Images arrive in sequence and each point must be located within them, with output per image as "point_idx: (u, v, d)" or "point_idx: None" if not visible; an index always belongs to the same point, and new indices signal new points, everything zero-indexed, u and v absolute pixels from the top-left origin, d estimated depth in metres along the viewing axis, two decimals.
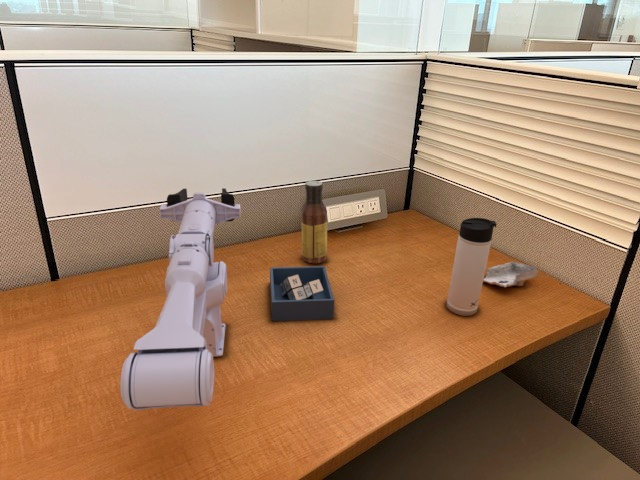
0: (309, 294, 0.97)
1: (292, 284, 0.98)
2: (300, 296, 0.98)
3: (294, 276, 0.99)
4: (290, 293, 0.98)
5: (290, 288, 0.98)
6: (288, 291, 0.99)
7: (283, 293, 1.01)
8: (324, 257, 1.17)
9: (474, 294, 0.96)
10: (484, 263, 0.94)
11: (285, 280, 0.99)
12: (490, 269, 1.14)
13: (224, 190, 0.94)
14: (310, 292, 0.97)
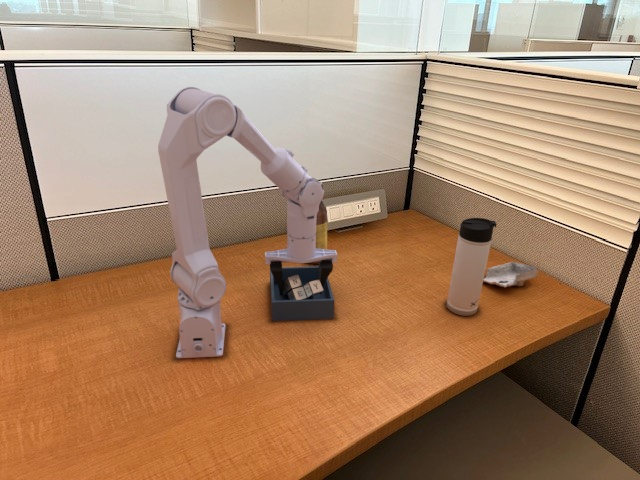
0: (309, 294, 0.97)
1: (292, 284, 0.98)
2: (300, 296, 0.98)
3: (294, 276, 0.99)
4: (290, 293, 0.98)
5: (290, 288, 0.98)
6: (288, 291, 0.99)
7: (283, 293, 1.01)
8: None
9: (474, 294, 0.96)
10: (484, 263, 0.94)
11: (285, 280, 0.99)
12: (490, 269, 1.14)
13: None
14: (310, 292, 0.97)
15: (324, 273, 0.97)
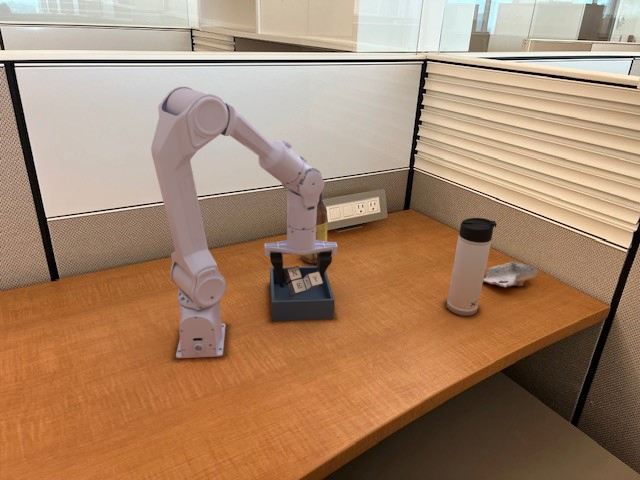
0: (308, 286, 0.96)
1: (291, 276, 0.97)
2: (300, 288, 0.97)
3: (294, 268, 0.98)
4: (289, 285, 0.97)
5: (289, 280, 0.97)
6: (288, 283, 0.98)
7: (283, 285, 1.00)
8: None
9: (474, 294, 0.96)
10: (484, 263, 0.94)
11: (285, 272, 0.98)
12: (490, 269, 1.14)
13: None
14: (309, 284, 0.96)
15: (323, 265, 0.96)
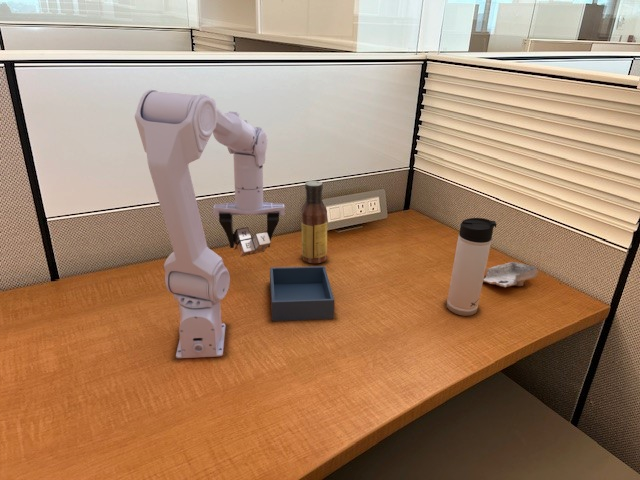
0: (256, 246, 1.00)
1: (240, 236, 1.01)
2: (248, 248, 1.00)
3: (244, 229, 1.01)
4: (239, 245, 1.01)
5: (239, 240, 1.01)
6: (238, 243, 1.01)
7: (234, 246, 1.04)
8: (324, 257, 1.17)
9: (474, 294, 0.96)
10: (484, 263, 0.94)
11: (235, 232, 1.02)
12: (490, 269, 1.14)
13: None
14: (257, 243, 0.99)
15: (270, 225, 0.99)
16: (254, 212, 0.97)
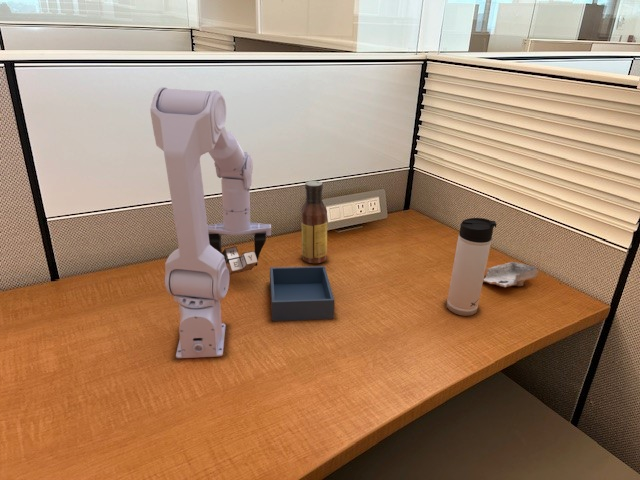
0: (244, 265, 1.04)
1: (229, 255, 1.04)
2: (236, 266, 1.04)
3: (232, 248, 1.05)
4: (227, 264, 1.05)
5: (227, 259, 1.04)
6: (226, 262, 1.05)
7: None
8: (324, 257, 1.17)
9: (474, 294, 0.96)
10: (484, 263, 0.94)
11: (223, 252, 1.06)
12: (490, 269, 1.14)
13: None
14: (244, 263, 1.03)
15: (257, 245, 1.03)
16: (241, 233, 1.01)
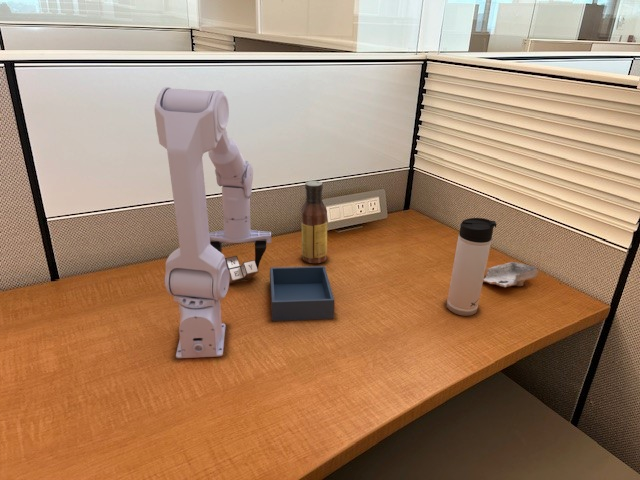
0: (244, 274, 1.04)
1: (229, 264, 1.05)
2: (237, 276, 1.05)
3: (232, 257, 1.06)
4: None
5: (228, 268, 1.05)
6: None
7: None
8: (324, 257, 1.17)
9: (474, 294, 0.96)
10: (484, 263, 0.94)
11: None
12: (490, 269, 1.14)
13: None
14: (245, 272, 1.04)
15: (258, 253, 1.04)
16: (242, 241, 1.02)
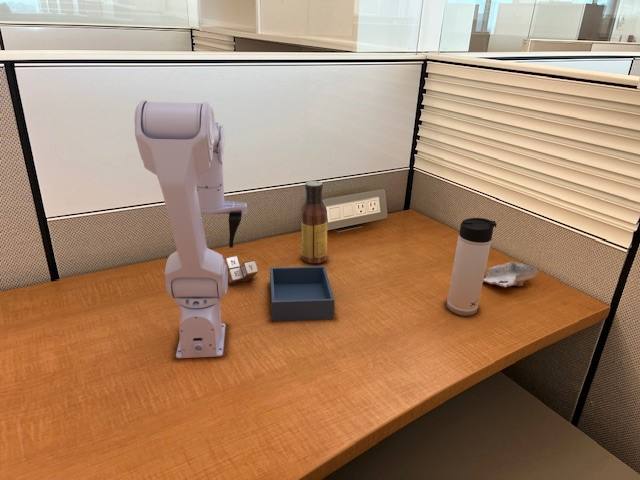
0: (244, 274, 1.04)
1: (229, 264, 1.05)
2: (237, 276, 1.05)
3: (233, 257, 1.06)
4: (228, 273, 1.06)
5: (228, 268, 1.05)
6: None
7: None
8: (324, 257, 1.17)
9: (474, 294, 0.96)
10: (484, 263, 0.94)
11: (225, 261, 1.07)
12: (490, 269, 1.14)
13: None
14: (245, 272, 1.04)
15: (232, 225, 0.96)
16: (214, 211, 0.94)
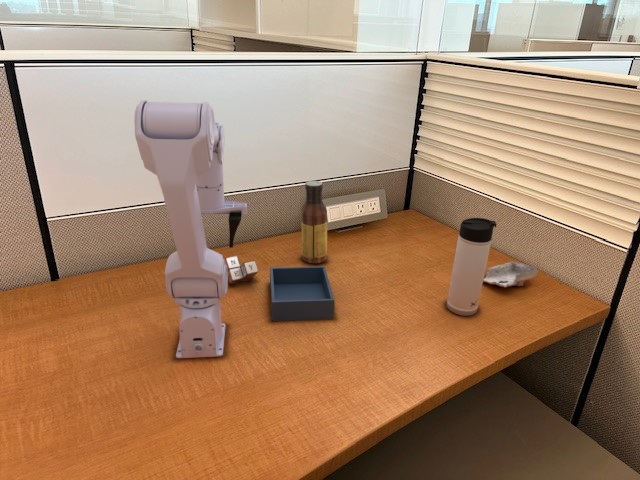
0: (244, 274, 1.04)
1: (229, 264, 1.05)
2: (237, 276, 1.05)
3: (233, 257, 1.06)
4: (228, 273, 1.06)
5: (228, 268, 1.05)
6: None
7: None
8: (324, 257, 1.17)
9: (474, 294, 0.96)
10: (484, 263, 0.94)
11: None
12: (490, 269, 1.14)
13: None
14: (245, 272, 1.04)
15: (232, 225, 0.96)
16: (214, 211, 0.94)
